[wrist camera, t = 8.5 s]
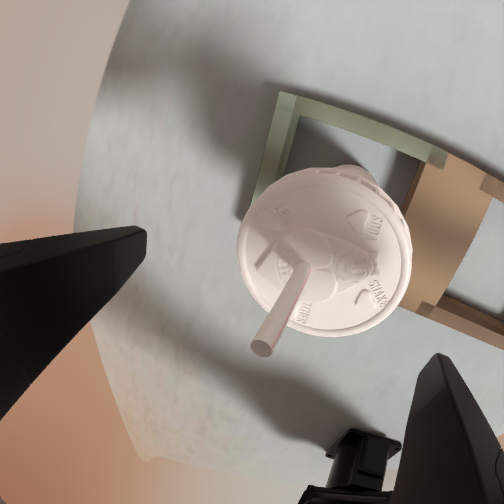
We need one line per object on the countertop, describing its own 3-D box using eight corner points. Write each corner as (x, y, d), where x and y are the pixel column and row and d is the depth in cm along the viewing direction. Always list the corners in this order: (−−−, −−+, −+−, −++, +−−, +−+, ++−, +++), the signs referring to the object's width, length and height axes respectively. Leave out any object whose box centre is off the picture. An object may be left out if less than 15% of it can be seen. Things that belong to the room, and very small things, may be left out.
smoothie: (289, 150, 19) (132, 233, 8) (393, 136, 16) (426, 201, 5) (308, 245, 21) (208, 413, 10) (404, 239, 19) (410, 434, 7)
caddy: (510, 338, 18) (516, 355, 16) (253, 230, 22) (241, 241, 21) (575, 230, 13) (588, 242, 11) (289, 92, 18) (279, 91, 16)
